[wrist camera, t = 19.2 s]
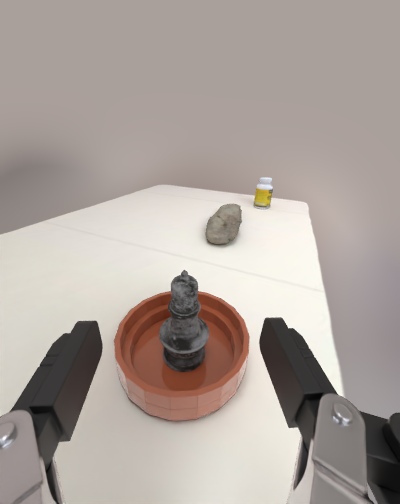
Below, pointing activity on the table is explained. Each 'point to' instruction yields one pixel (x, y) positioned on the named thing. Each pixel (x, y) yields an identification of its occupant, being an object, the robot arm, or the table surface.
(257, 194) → the pill bottle
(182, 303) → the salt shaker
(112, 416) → the table surface
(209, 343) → the bowl
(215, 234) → the long grey stone
